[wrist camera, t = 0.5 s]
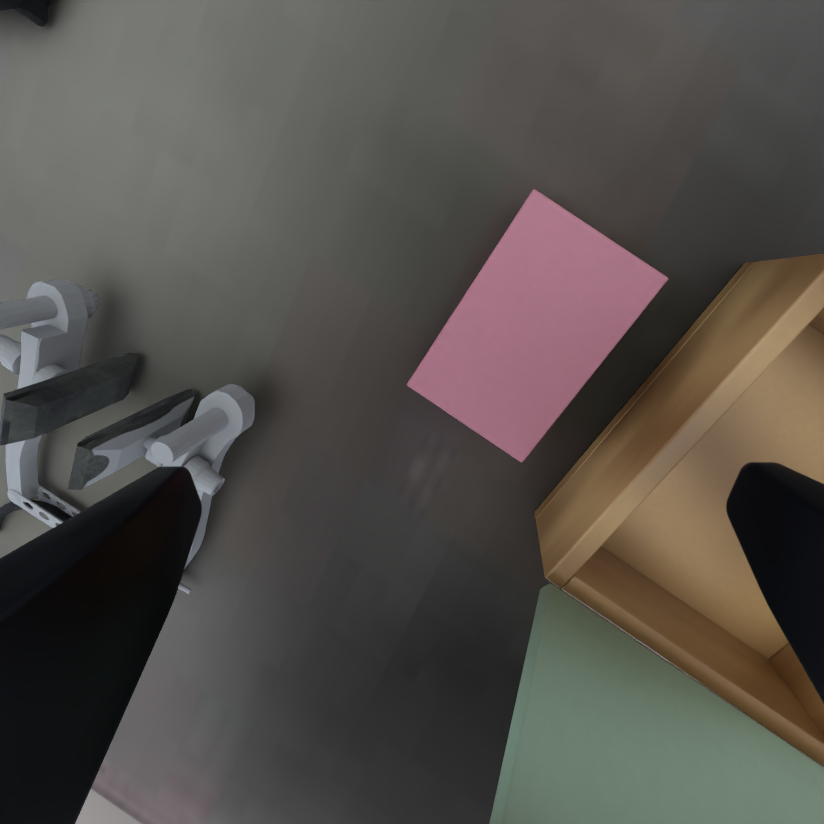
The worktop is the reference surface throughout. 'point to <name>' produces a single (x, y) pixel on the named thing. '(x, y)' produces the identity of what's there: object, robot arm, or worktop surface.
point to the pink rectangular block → (534, 326)
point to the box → (704, 495)
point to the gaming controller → (29, 9)
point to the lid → (636, 738)
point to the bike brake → (91, 391)
